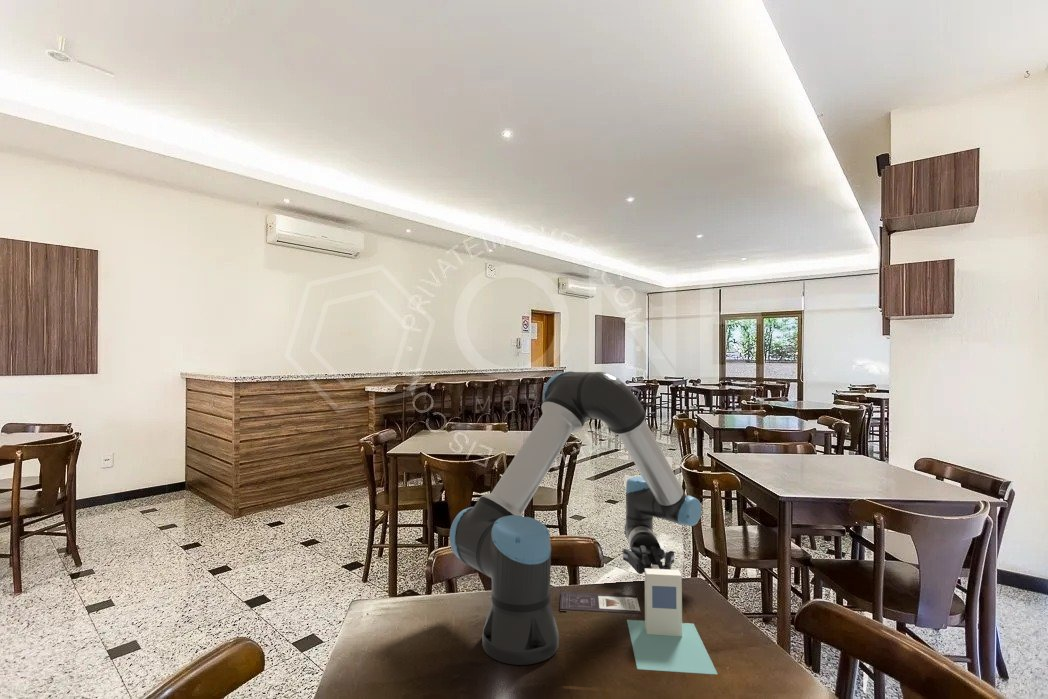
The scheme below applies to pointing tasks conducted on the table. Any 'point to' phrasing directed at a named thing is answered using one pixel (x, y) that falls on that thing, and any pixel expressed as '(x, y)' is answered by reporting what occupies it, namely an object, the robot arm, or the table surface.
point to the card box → (663, 602)
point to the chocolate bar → (599, 602)
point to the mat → (670, 650)
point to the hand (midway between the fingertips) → (659, 582)
